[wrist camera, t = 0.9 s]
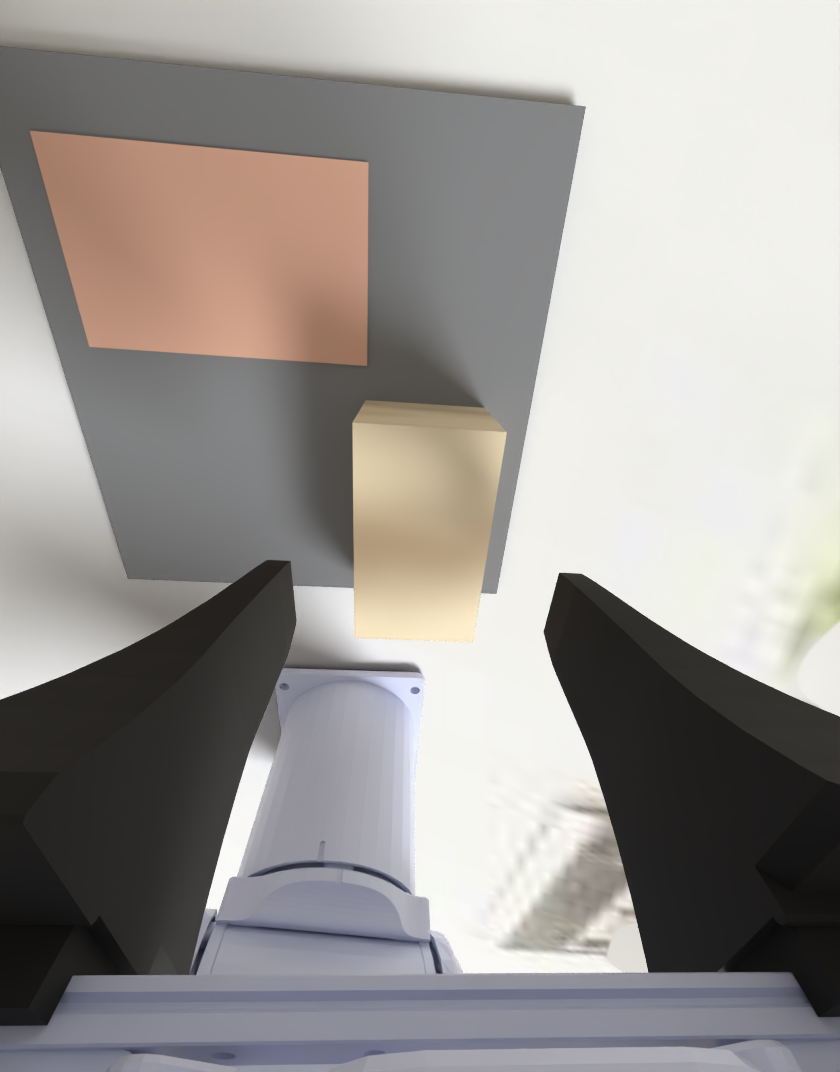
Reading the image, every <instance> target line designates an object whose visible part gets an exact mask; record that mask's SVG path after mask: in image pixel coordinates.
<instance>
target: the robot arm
mask: <svg viewBox="0 0 840 1072" xmlns="http://www.w3.org/2000/svg"><path fill="white" fill-rule="evenodd" d="M295 626H296V613H295V602H294V592H293V581H292V570H291V561H283V560H266V561H264V562H263V563H261V564H260V565H258V566H257V567H255V568H254V569H252V570H251V571H250V572H248V573H247V574H245V575H244V576H243V577H241V578H240V579H238V580H237V581H236V582H234V583H233V584H231V585H230V586H228V587H227V588H225V589H224V590H223V591H221V592H220V593H218V594H217V595H215V596H214V597H212V598H211V599H209V600H208V601H206V602H205V603H203V604H201V605H200V606H198V607H197V608H195V609H194V610H192V611H190V612H189V613H187V614H186V615H184V616H182V617H181V618H179V619H178V620H176V621H174V622H173V623H171V624H169V625H167V626H166V627H164V628H162V629H160V630H159V631H157V632H155V633H153V634H151V635H149V636H147V637H145V638H144V639H142V640H140V641H138V642H136V643H134V644H132V645H130V646H128V647H126V648H124V649H122V650H120V651H118V652H116V653H113V654H111V655H109V656H107V657H104V658H102V659H100V660H98V661H96V662H93V663H91V664H89V665H87V666H84V667H82V668H80V669H78V670H76V671H73V672H71V673H69V674H66V675H64V676H62V677H59V678H57V679H54V680H51V681H49V682H46V683H44V684H41V685H39V686H36V687H34V688H31V689H28V690H26V691H23V692H20V693H18V694H15V695H12V696H10V697H7V698H4V699H1V700H0V1072H840V717H839V716H837V715H834V714H832V713H829V712H827V711H824V710H822V709H820V708H817V707H815V706H813V705H810V704H808V703H806V702H803V701H801V700H798V699H796V698H794V697H792V696H789V695H787V694H785V693H783V692H781V691H779V690H777V689H774V688H772V687H770V686H768V685H766V684H764V683H761V682H759V681H757V680H755V679H753V678H751V677H749V676H747V675H745V674H743V673H741V672H739V671H737V670H735V669H733V668H731V667H729V666H728V665H726V664H724V663H722V662H720V661H718V660H716V659H715V658H713V657H711V656H709V655H707V654H705V653H703V652H702V651H700V650H698V649H697V648H695V647H693V646H691V645H690V644H688V643H686V642H685V641H683V640H681V639H680V638H678V637H677V636H675V635H673V634H672V633H670V632H669V631H667V630H665V629H664V628H662V627H661V626H659V625H658V624H656V623H654V622H653V621H651V620H650V619H648V618H647V617H645V616H644V615H642V614H641V613H639V612H638V611H637V610H635V609H634V608H632V607H631V606H629V605H628V604H626V603H625V602H623V601H622V600H621V599H619V598H618V597H616V596H615V595H613V594H612V593H611V592H609V591H608V590H606V589H605V588H603V587H602V586H600V585H599V584H597V583H596V582H594V581H593V580H591V579H589V578H588V577H586V576H584V575H583V574H574V573H559V576H558V579H557V583H556V587H555V591H554V595H553V598H552V602H551V606H550V610H549V614H548V617H547V621H546V625H545V629H544V635H545V639H546V643H547V647H548V651H549V654H550V658H551V661H552V665H553V667H554V670H555V672H556V675H557V677H558V679H559V682H560V684H561V686H562V689H563V691H564V694H565V696H566V698H567V701H568V703H569V705H570V707H571V710H572V712H573V714H574V717H575V719H576V721H577V724H578V726H579V728H580V731H581V733H582V735H583V738H584V740H585V742H586V745H587V748H588V750H589V753H590V756H591V758H592V761H593V764H594V767H595V771H596V774H597V777H598V780H599V783H600V786H601V790H602V793H603V796H604V799H605V803H606V806H607V809H608V813H609V816H610V820H611V823H612V827H613V830H614V834H615V837H616V841H617V844H618V848H619V852H620V856H621V860H622V863H623V867H624V871H625V875H626V879H627V883H628V886H629V890H630V894H631V898H632V902H633V906H634V911H635V915H636V919H637V924H638V928H639V932H640V937H641V941H642V945H643V950H644V954H645V958H646V963H647V967H648V972H649V973H489V974H463V972H462V969H461V967H460V965H459V962H458V961H457V959H456V957H455V955H454V954H453V951H452V949H451V946H450V944H449V942H448V941H447V939H446V938H445V936H444V935H443V934H441V933H439V932H437V931H432V930H430V920H429V900H428V899H427V898H425V897H418V896H415V808H414V782H415V778H416V768H417V758H418V748H419V738H420V727H421V717H422V707H423V697H424V687H425V679H424V676H423V675H422V674H421V673H417V672H391V671H359V670H327V669H295V668H283V666H284V664H285V661H286V659H287V656H288V653H289V649H290V645H291V642H292V638H293V634H294V630H295ZM283 683H285V684H283ZM286 684H287V685H286ZM413 687H417V688H413ZM274 688H275V689H276V697H277V704H278V712H279V719H280V727H281V738H280V741H279V744H278V747H277V750H276V754H275V757H274V760H273V763H272V766H271V769H270V773H269V776H268V779H267V782H266V785H265V789H264V792H263V795H262V798H261V801H260V805H259V808H258V811H257V814H256V817H255V821H254V824H253V827H252V830H251V833H250V837H249V840H248V843H247V846H246V849H245V853H244V856H243V859H242V862H241V865H240V868H239V872H238V875H237V877H231V878H230V879H229V882H228V885H227V888H226V891H225V894H224V897H223V900H222V904H221V907H220V910H219V913H218V916H217V910H216V909H205V907H206V903H207V899H208V895H209V891H210V888H211V884H212V880H213V876H214V872H215V869H216V865H217V861H218V857H219V854H220V850H221V846H222V842H223V839H224V835H225V831H226V828H227V824H228V821H229V817H230V814H231V810H232V807H233V803H234V800H235V796H236V793H237V790H238V786H239V783H240V780H241V776H242V773H243V770H244V766H245V763H246V760H247V756H248V753H249V750H250V748H251V745H252V742H253V739H254V737H255V734H256V731H257V729H258V727H259V724H260V722H261V719H262V717H263V715H264V712H265V710H266V707H267V705H268V703H269V700H270V698H271V695H272V693H273V691H274Z"/></svg>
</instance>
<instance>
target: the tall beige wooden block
mask: <svg viewBox="0 0 840 1072" xmlns="http://www.w3.org/2000/svg"><path fill="white" fill-rule="evenodd" d="M352 431H353V534H354V637H355V638H367V639H396V640H424V641H453V642H473V638H474V632H475V626H476V620H477V614H478V608H479V601H480V595H481V589H482V583H483V577H484V571H485V564H486V558H487V552H488V546H489V540H490V534H491V527H492V521H493V515H494V509H495V503H496V497H497V490H498V484H499V478H500V472H501V466H502V460H503V453H504V447H505V441H506V435H507V432H506V431H505V430H504V428H503V427H502V426H501V425H500V424H499V423H498V422H497V421H496V420H495V419H494V417H493V416H492V415H491V414H490V413H489V412H488V411H487V410H486V409H485V408H481V407H465V406H450V405H434V404H419V403H403V402H388V401H372V400H365V402H364V404H363V406H362V407H361V409H360V411H359V412H358V414H357V416H356V417H355V419H354V421H353V423H352Z"/></svg>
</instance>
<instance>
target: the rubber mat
mask: <svg viewBox="0 0 840 1072" xmlns="http://www.w3.org/2000/svg"><path fill="white" fill-rule="evenodd" d="M585 108H586V107H585V106H575V105H566V104H556V103H546V102H537V101H527V100H517V99H507V98H498V97H488V96H478V95H469V94H459V93H449V92H440V91H430V90H420V89H411V88H401V87H391V86H381V85H372V84H362V83H352V82H343V81H333V80H323V79H314V78H304V77H294V76H284V75H275V74H265V73H255V72H246V71H236V70H226V69H217V68H207V67H197V66H187V65H178V64H168V63H158V62H149V61H139V60H129V59H120V58H110V57H100V56H90V55H81V54H71V53H61V52H52V51H42V50H32V49H23V48H13V47H3V46H0V167H1V170H2V173H3V176H4V180H5V183H6V186H7V189H8V193H9V196H10V199H11V202H12V206H13V209H14V212H15V215H16V218H17V222H18V225H19V228H20V231H21V235H22V238H23V241H24V244H25V248H26V251H27V254H28V257H29V260H30V264H31V267H32V270H33V273H34V277H35V280H36V283H37V286H38V289H39V293H40V296H41V299H42V302H43V306H44V309H45V312H46V315H47V319H48V322H49V325H50V328H51V331H52V335H53V338H54V341H55V344H56V348H57V351H58V354H59V357H60V360H61V364H62V367H63V370H64V373H65V377H66V380H67V383H68V386H69V390H70V393H71V396H72V399H73V402H74V406H75V409H76V412H77V415H78V419H79V422H80V425H81V428H82V431H83V435H84V438H85V441H86V444H87V448H88V451H89V454H90V457H91V461H92V464H93V467H94V470H95V473H96V477H97V480H98V483H99V486H100V490H101V493H102V496H103V499H104V502H105V506H106V509H107V512H108V515H109V519H110V522H111V525H112V528H113V532H114V535H115V538H116V541H117V544H118V548H119V551H120V554H121V557H122V561H123V564H124V567H125V570H126V573H127V577H128V579H151V580H176V581H200V582H224V583H234V582H236V581H237V580H238V579H240V578H241V577H243V576H244V575H245V574H247V573H248V572H250V571H251V570H252V569H254V568H255V567H257V566H258V565H260V564H261V563H263V562H264V561H266V560H283V561H291V570H292V581H293V585H297V586H321V587H345V588H354V534H353V431H352V423H353V421H354V419H355V417H356V416H357V414H358V412H359V411H360V409H361V407H362V406H363V404H364V402H365V400H372V401H388V402H403V403H419V404H434V405H450V406H465V407H481V408H485V409H486V410H487V411H488V412H489V413H490V414H491V415H492V416H493V417H494V419H495V420H496V421H497V422H498V423H499V424H500V425H501V426H502V427H503V428H504V430H505V431H506V432H507V435H506V441H505V447H504V453H503V460H502V466H501V472H500V478H499V484H498V490H497V497H496V503H495V509H494V515H493V521H492V527H491V534H490V540H489V546H488V552H487V558H486V564H485V571H484V577H483V583H482V589H481V593H490V594H496V593H497V588H498V582H499V577H500V571H501V566H502V560H503V555H504V550H505V544H506V539H507V533H508V528H509V522H510V517H511V511H512V506H513V500H514V495H515V490H516V484H517V479H518V473H519V468H520V462H521V457H522V451H523V446H524V440H525V435H526V430H527V424H528V419H529V413H530V408H531V402H532V397H533V391H534V386H535V380H536V375H537V370H538V364H539V359H540V353H541V348H542V342H543V337H544V331H545V326H546V320H547V315H548V310H549V304H550V299H551V293H552V288H553V282H554V277H555V271H556V266H557V260H558V255H559V250H560V244H561V239H562V233H563V228H564V222H565V217H566V211H567V206H568V200H569V195H570V190H571V184H572V179H573V173H574V168H575V162H576V157H577V151H578V146H579V140H580V135H581V130H582V124H583V119H584V113H585Z"/></svg>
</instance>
